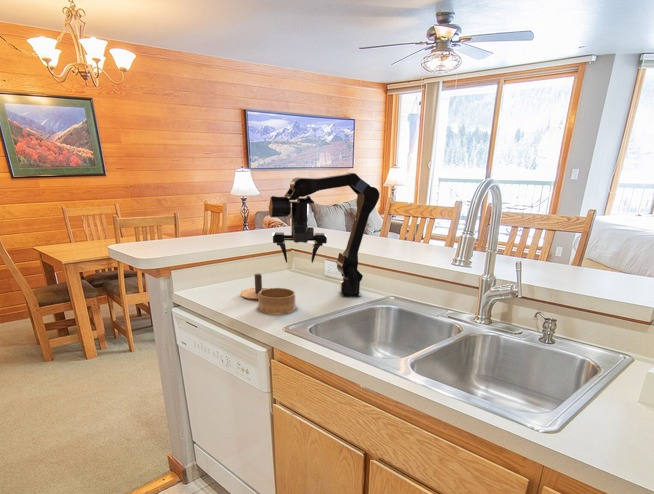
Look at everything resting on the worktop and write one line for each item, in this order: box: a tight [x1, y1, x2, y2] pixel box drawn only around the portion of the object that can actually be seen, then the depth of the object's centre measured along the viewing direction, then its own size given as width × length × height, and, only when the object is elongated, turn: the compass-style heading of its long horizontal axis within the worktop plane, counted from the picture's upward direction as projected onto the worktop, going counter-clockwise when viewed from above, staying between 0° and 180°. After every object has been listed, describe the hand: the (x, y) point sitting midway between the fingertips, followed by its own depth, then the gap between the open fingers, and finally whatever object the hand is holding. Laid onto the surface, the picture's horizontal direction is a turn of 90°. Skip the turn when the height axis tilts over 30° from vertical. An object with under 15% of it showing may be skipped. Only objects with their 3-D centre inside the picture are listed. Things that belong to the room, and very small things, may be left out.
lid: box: [240, 273, 269, 300], centre depth 162 cm, size 13×13×8 cm
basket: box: [257, 287, 296, 315], centre depth 149 cm, size 12×12×6 cm
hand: (299, 262), depth 157 cm, fingers open, 9 cm apart
